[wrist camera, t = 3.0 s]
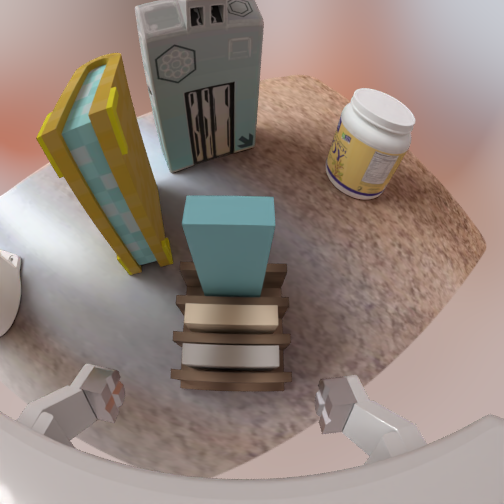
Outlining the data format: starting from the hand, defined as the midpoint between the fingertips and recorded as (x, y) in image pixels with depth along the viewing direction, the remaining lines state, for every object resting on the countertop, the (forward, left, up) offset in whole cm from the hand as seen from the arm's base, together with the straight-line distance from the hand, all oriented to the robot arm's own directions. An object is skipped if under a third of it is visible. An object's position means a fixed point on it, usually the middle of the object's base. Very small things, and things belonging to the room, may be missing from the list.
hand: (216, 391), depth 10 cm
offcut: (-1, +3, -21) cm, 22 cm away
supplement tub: (+8, +40, -23) cm, 47 cm away
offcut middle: (-2, +7, -21) cm, 23 cm away
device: (-20, +36, -23) cm, 47 cm away
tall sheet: (-4, +11, -21) cm, 24 cm away
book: (-22, +17, -23) cm, 36 cm away
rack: (-3, +7, -23) cm, 24 cm away
